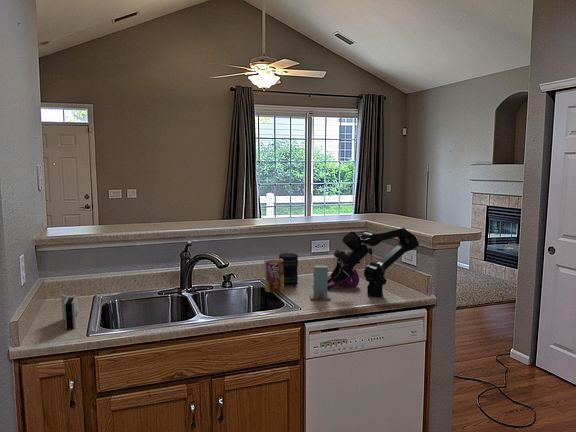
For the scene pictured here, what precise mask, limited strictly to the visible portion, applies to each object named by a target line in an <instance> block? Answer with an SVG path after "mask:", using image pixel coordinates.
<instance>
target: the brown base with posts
mask: <svg viewBox="0 0 576 432" xmlns="http://www.w3.org/2000/svg"><path fill="white" fill-rule="evenodd" d="M309 299H310V301H311V302H313V301H314V302H315V301H316V302H317V301H318V302H319V301H321V302H323V301H324V302H325V301H326V302H327V301H331V300H332V299H331V296H330V294H329V293H328V290H327V291H323V297H319V292H315V297H314V293H312V294H311V293H310V294H309Z"/></svg>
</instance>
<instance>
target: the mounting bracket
mask: <svg viewBox="0 0 576 432" xmlns="http://www.w3.org/2000/svg"><path fill="white" fill-rule="evenodd" d="M353 271H354V272H355V275H354V276H353V277H352V278H351V277H350V278H347V279H344V280H341V281H338V282H336V283H334V282H333V280H334V279H335V277H336V276H337V275H336V276H334V277H331V276H330V275H328V282H327V291H328V290H332V289H335V288H337V287H338V286H340V285H344V286H345V287H347V288H349V289H354V288H356V287H358V286H359V284H360V276H359V274H358V273H359V272H357V269H356V268H354V269H353Z"/></svg>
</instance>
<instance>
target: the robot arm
mask: <svg viewBox="0 0 576 432" xmlns="http://www.w3.org/2000/svg"><path fill="white" fill-rule="evenodd" d="M415 236H416V235H414V234H413V233H411V232H410V231H409V230H407V229H406V228H405V227H402V226H396V227H394V228H393V227H392V228H390V229H385V230H381V231H377V232H376V231H365V232H363V233H362V234H360V235H359V236H358V234H357V233H356V232H355V231H354V230H353V231H350V232H349V233H347V234H346V235H344V236H343V237H342V243H343V244H344V245H345V246H346V247H347V248H348V249H349V250H350V251H348V252H346V251H343V250H340V249H339V248H336V249H335V250H334V252H333V257H334V258H336V260H335V263H336V265H335V267H334V269H333V270H332V272H331V274H330V275H329V276H331V277H334V276H336V275H337V276H336V277H335V279H334V280H333V282H334V283H336V282H338V281H341V280H344V279H347V278H350V277H351V278H352V277H353V276H354V275H355V272H354V271H353V269H355V267H356V266H357V265H359V264H361V261H362V260H363V259H364V258H365V257H366V256H367V255H368V254H369V255H370V256H373V249H372V248H371V247H376V246H377V245H379V244H381V242H384V241H386V240H391V239H395V238H397V239H398V244H397V245H396V246H395V247H394V248H393V249H391V251H389V252H388V253H387V254H386V255H385V256H384V257H382V258H381V259H380V260H379V261H377V262H375V261H371V262H370V263H369V264H367V265H366V266H365V269H364V270H363V276H364V278H365V282H368V284H367V289H366V290H367V293H366V294H367V297H370V298H381V299H382V298H383V294H384V290H383V289H384V285H386V284H387V280H388V279H387V278H385V273H386V270H387V269H389V268H390V266H392V265H393V264H394V263H395V262H397V260H398V259H400V257H402V256H403V255H405V253H407V252H410V251H412V250H415V249H416V248H418V247H419V245H420V242H419V243H418V241H417V239H416V237H415ZM368 246H370V247H368Z"/></svg>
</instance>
